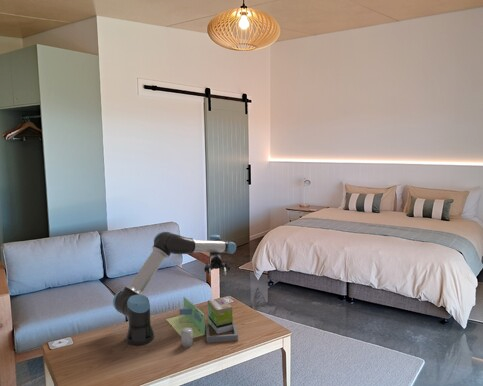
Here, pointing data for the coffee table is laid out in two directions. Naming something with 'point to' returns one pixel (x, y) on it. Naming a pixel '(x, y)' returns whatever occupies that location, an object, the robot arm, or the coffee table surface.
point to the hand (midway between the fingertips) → (217, 273)
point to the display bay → (222, 336)
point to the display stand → (189, 319)
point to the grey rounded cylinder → (187, 337)
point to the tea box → (220, 315)
